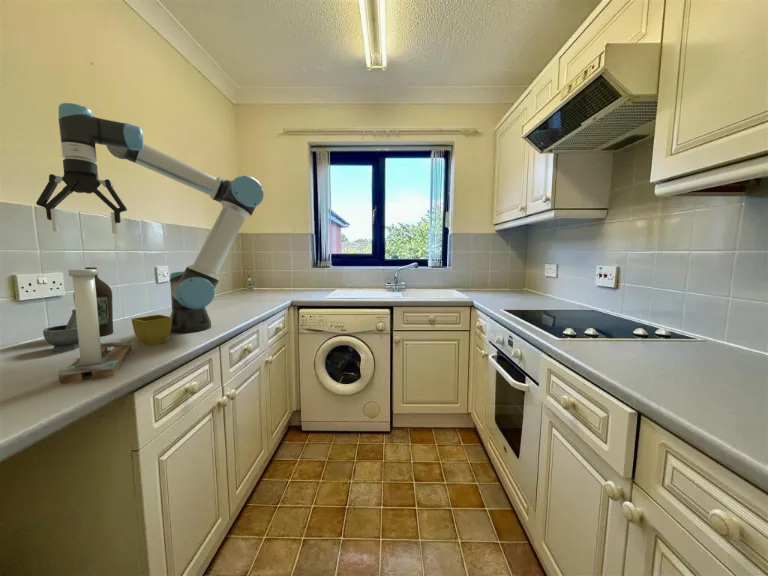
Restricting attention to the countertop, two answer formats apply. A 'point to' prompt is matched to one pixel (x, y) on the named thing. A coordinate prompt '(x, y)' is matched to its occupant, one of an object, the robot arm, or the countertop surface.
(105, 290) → the olive oil
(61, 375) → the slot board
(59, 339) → the mortar and pestle
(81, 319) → the slider
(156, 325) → the flower pot
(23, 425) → the countertop surface
